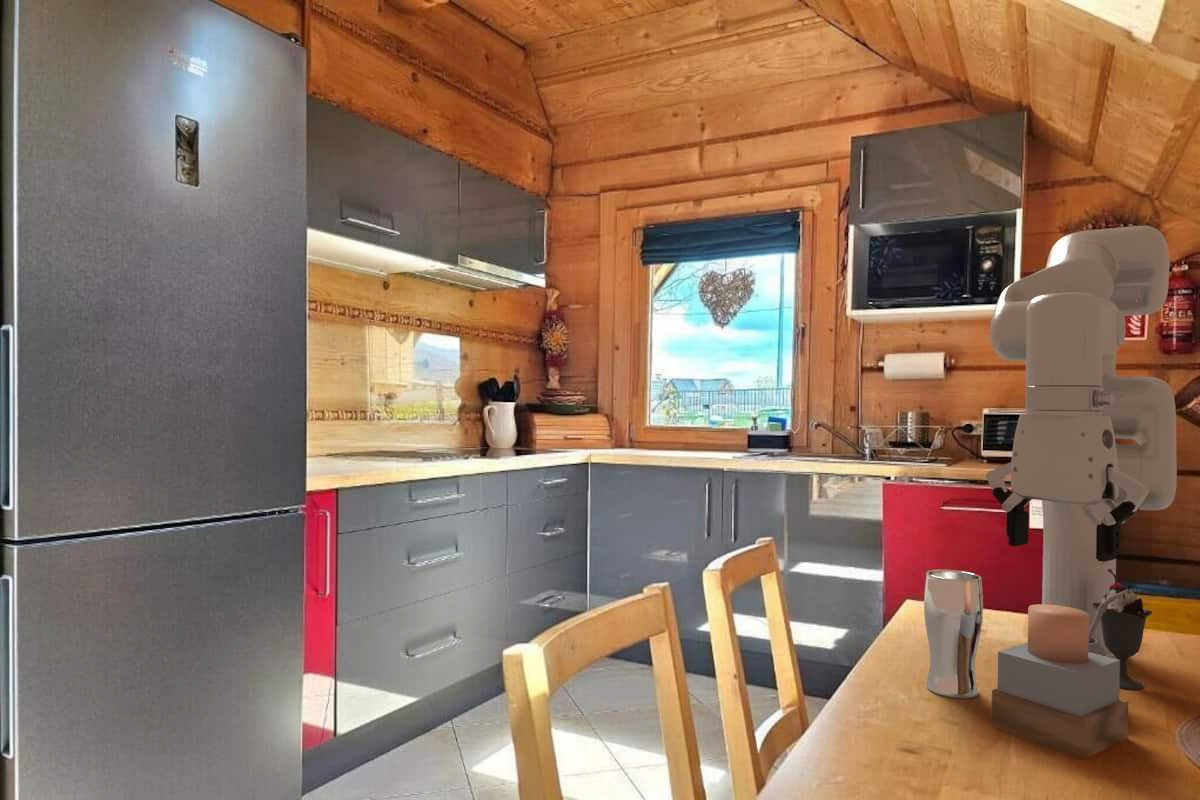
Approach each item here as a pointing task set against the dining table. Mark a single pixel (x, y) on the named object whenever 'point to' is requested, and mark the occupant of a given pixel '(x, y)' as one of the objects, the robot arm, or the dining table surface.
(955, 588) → the beer glass
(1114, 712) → the walnut base block
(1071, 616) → the peach rounded cylinder
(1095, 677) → the slate top block
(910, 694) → the dining table surface
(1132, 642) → the sundae
